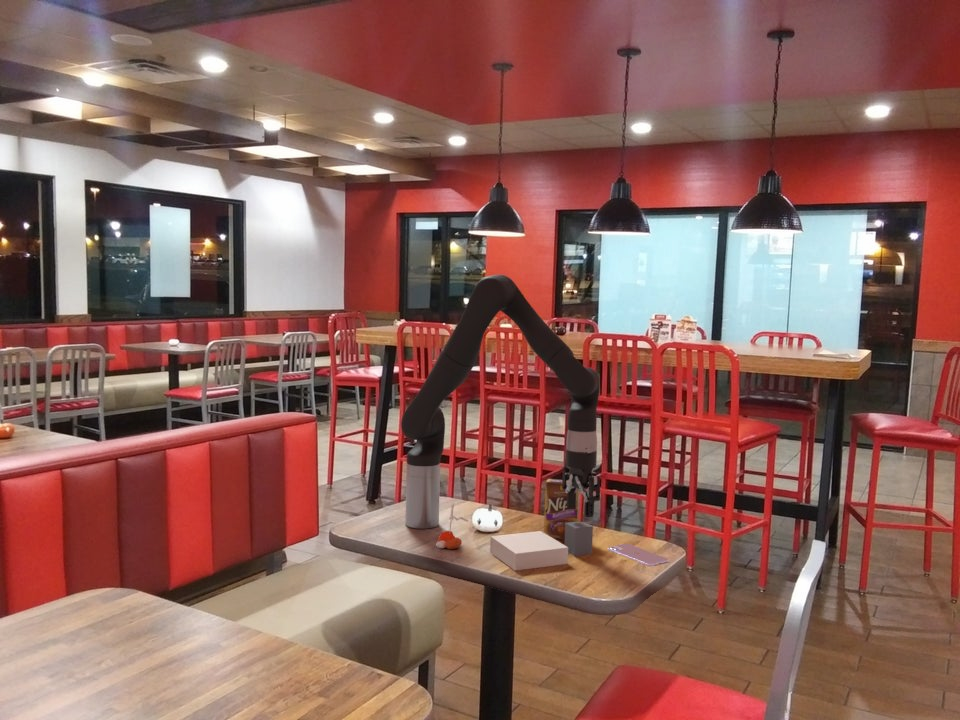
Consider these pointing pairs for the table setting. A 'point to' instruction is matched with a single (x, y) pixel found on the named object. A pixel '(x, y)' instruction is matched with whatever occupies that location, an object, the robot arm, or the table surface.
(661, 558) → the mobile phone
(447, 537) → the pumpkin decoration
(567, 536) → the charcoal block
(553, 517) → the candy box
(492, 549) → the plinth
